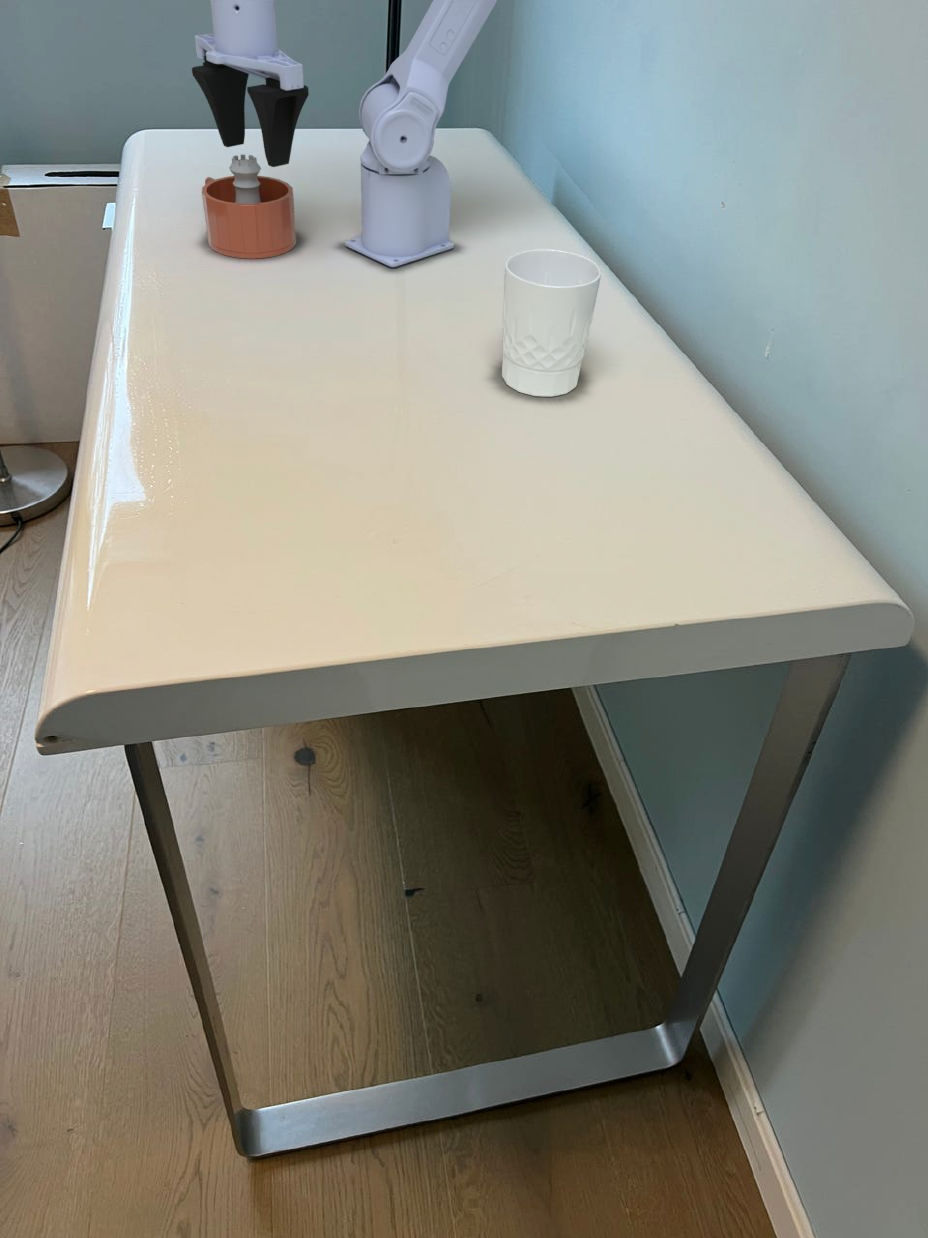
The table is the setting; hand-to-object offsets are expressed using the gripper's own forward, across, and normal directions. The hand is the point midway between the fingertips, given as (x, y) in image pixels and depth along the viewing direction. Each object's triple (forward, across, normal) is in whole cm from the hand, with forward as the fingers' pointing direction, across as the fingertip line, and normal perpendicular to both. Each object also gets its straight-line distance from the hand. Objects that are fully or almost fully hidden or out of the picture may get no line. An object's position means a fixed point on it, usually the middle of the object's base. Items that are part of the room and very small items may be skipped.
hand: (255, 154), depth 94 cm
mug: (+10, -5, +1) cm, 11 cm away
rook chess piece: (+10, -3, +1) cm, 10 cm away
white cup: (+10, +38, +2) cm, 39 cm away
